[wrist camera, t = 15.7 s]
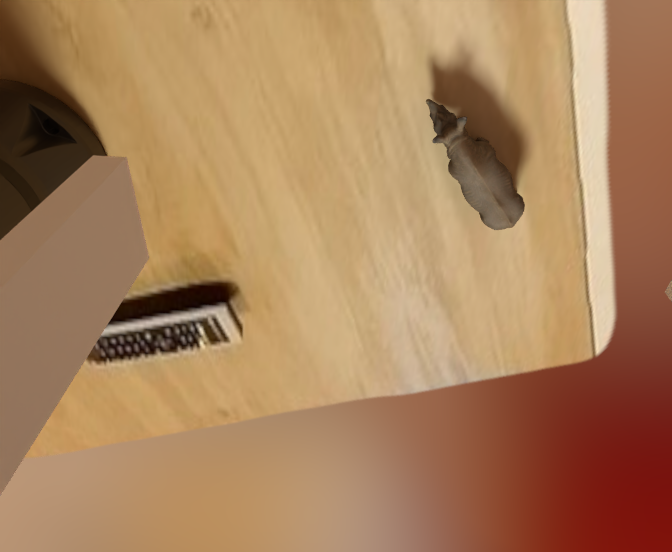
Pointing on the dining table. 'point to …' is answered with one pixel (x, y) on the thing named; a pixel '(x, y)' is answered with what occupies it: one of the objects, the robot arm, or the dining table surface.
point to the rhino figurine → (477, 171)
